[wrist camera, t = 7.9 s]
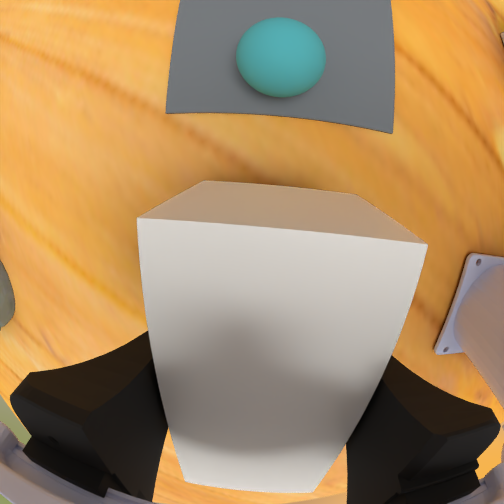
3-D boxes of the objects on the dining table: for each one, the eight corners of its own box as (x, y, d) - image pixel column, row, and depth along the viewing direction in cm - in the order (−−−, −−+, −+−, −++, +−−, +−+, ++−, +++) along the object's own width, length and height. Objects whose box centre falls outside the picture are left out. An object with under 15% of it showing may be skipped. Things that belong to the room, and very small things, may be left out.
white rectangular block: (356, 194, 10) (428, 244, 5) (307, 406, 14) (312, 492, 9) (203, 180, 10) (136, 217, 5) (206, 398, 15) (185, 481, 9)
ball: (338, 22, 8) (328, 112, 11) (321, 23, 11) (314, 91, 13) (231, 13, 8) (230, 105, 11) (240, 17, 11) (239, 86, 13)
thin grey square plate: (384, -32, 9) (385, -33, 9) (391, 133, 13) (392, 133, 13) (192, -48, 10) (191, -50, 9) (166, 113, 14) (165, 113, 13)
